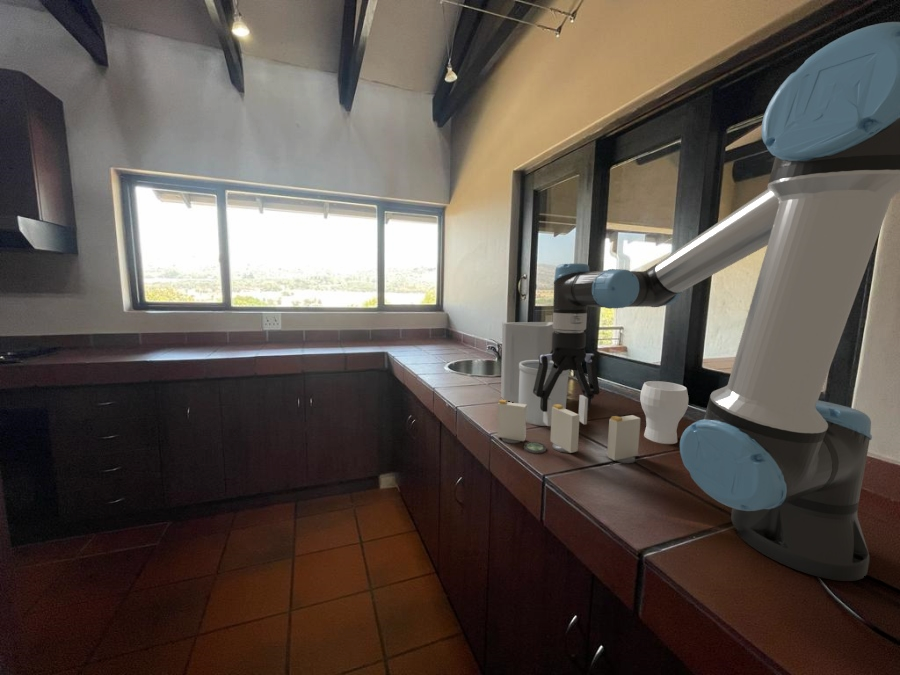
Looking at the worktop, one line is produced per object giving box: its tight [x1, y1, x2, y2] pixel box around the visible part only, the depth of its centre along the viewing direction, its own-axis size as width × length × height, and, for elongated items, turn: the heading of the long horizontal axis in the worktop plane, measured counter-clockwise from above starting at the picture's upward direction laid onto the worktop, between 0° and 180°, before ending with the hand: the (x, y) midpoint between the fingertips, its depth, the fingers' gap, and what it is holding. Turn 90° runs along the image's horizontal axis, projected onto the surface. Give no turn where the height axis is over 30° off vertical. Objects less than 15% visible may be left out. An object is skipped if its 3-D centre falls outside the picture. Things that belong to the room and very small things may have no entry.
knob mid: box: [549, 404, 580, 454], centre depth 84 cm, size 5×7×10 cm
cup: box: [639, 380, 689, 445], centre depth 90 cm, size 11×11×15 cm
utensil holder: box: [519, 360, 571, 427], centre depth 105 cm, size 15×15×18 cm
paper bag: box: [500, 321, 555, 403], centre depth 122 cm, size 19×15×28 cm
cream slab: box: [496, 398, 527, 444], centre depth 89 cm, size 5×7×10 cm
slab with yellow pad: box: [606, 414, 641, 464], centre depth 79 cm, size 5×7×10 cm
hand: (564, 423), depth 84 cm, fingers open, 8 cm apart
